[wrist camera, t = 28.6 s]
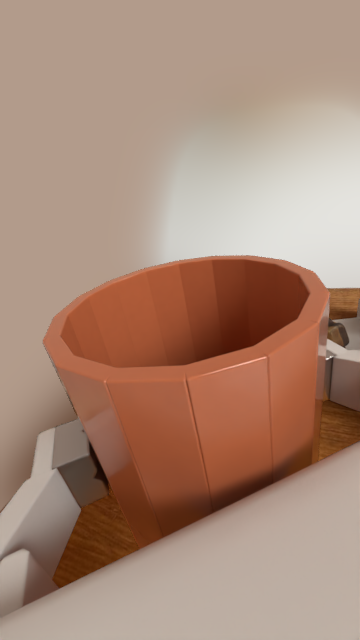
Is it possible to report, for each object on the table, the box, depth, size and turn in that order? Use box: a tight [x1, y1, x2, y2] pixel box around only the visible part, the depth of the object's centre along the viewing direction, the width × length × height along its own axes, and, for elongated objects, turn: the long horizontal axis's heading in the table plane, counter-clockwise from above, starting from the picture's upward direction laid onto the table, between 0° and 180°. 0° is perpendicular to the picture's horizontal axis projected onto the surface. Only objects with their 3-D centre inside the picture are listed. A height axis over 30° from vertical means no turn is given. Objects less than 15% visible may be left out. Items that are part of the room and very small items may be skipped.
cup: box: [43, 255, 330, 549], centre depth 9 cm, size 7×7×9 cm
